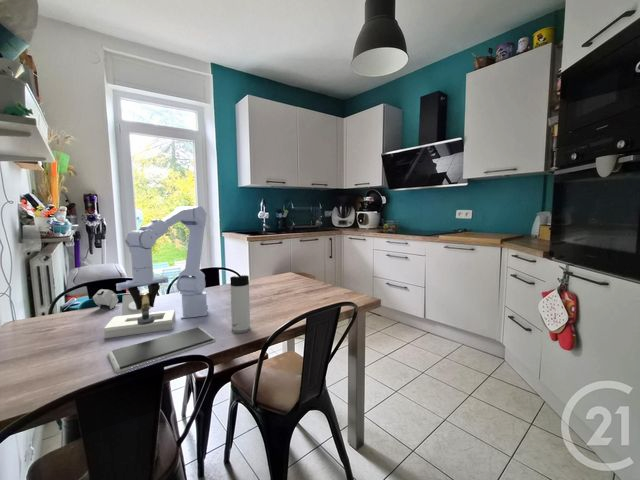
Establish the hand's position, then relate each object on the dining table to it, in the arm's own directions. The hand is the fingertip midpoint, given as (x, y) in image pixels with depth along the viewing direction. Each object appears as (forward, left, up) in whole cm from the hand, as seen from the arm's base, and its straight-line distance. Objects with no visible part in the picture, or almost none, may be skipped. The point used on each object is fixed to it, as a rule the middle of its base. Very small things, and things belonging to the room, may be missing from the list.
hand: (145, 307), depth 94 cm
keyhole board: (+3, -10, -10) cm, 15 cm away
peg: (0, 0, -5) cm, 5 cm away
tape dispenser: (+22, -39, -11) cm, 46 cm away
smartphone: (-6, +10, -11) cm, 16 cm away
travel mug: (-30, +5, -11) cm, 32 cm away
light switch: (+8, -23, -11) cm, 27 cm away
